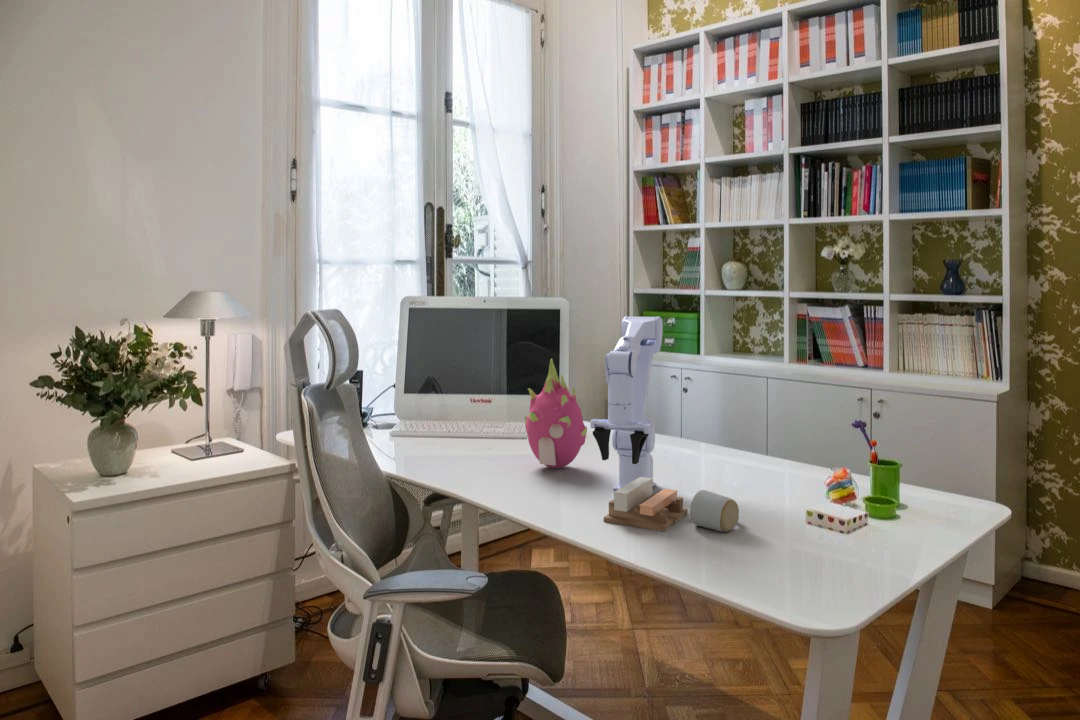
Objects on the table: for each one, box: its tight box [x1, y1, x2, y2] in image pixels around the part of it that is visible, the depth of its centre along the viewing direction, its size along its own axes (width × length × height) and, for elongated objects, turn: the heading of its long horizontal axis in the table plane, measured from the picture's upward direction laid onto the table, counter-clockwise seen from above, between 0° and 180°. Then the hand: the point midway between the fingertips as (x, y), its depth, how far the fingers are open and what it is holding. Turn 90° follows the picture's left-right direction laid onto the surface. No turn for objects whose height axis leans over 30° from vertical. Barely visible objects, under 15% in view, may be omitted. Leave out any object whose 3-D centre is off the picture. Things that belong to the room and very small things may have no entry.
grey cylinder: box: [689, 489, 740, 533], centre depth 173 cm, size 11×8×8 cm
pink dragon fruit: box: [524, 358, 588, 469], centre depth 221 cm, size 18×14×30 cm
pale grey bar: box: [613, 477, 653, 512], centre depth 180 cm, size 14×3×4 cm, turn 149°
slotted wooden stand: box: [603, 493, 689, 532], centre depth 179 cm, size 14×14×4 cm
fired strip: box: [640, 488, 678, 516], centre depth 178 cm, size 14×3×2 cm, turn 149°
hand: (620, 461), depth 188 cm, fingers open, 7 cm apart
